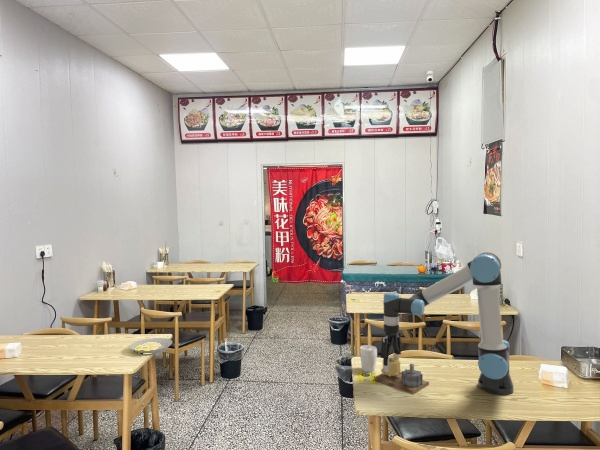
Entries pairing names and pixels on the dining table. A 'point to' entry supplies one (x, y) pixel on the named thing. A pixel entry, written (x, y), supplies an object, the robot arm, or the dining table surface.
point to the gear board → (404, 380)
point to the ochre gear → (392, 368)
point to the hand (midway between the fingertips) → (391, 369)
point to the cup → (368, 357)
